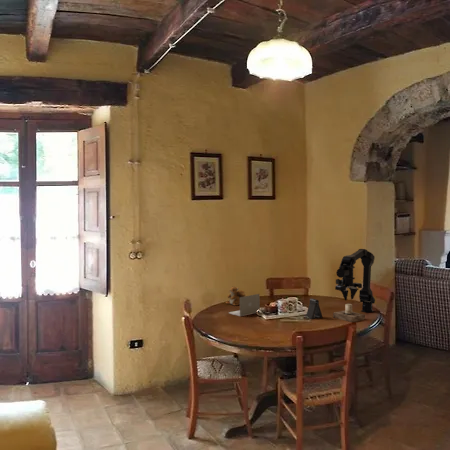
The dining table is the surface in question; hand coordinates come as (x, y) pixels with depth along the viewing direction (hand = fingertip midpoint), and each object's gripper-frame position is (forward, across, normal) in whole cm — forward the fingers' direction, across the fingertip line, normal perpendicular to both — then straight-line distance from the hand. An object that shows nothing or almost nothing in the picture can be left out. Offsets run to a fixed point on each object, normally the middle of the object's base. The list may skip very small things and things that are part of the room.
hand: (348, 299), depth 315 cm
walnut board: (+12, 0, 0) cm, 12 cm away
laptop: (+13, +45, -53) cm, 71 cm away
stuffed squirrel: (+12, +34, -80) cm, 88 cm away
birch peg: (+12, 0, 0) cm, 12 cm away
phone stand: (+12, +16, -15) cm, 25 cm away
